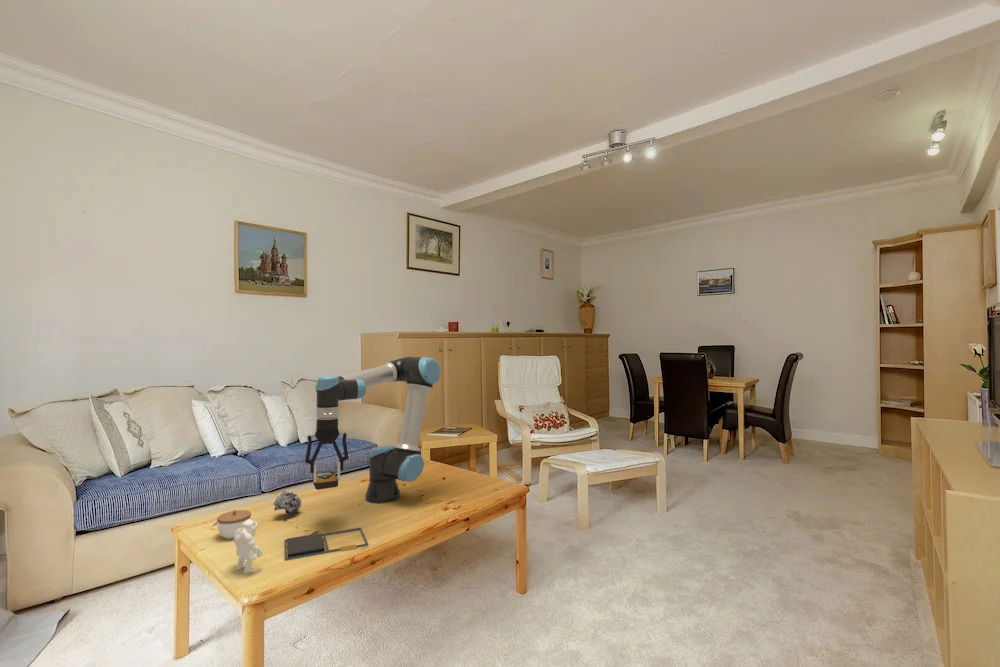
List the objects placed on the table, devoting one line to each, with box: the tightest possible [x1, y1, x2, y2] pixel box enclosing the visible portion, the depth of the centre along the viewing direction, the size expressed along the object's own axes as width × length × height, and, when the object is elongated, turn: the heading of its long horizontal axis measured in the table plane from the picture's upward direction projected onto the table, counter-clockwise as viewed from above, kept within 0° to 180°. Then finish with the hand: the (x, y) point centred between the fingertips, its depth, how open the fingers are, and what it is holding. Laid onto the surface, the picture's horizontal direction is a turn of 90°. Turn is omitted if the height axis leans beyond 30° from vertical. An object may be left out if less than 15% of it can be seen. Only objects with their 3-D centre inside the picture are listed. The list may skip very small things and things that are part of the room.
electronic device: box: [311, 470, 339, 491], centre depth 181 cm, size 8×16×3 cm, turn 26°
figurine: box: [233, 519, 263, 574], centre depth 147 cm, size 11×7×15 cm, turn 56°
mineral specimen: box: [273, 490, 302, 516], centre depth 192 cm, size 12×9×10 cm
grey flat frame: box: [284, 527, 369, 562], centre depth 165 cm, size 17×26×2 cm, turn 115°
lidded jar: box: [216, 509, 252, 540], centre depth 173 cm, size 11×11×9 cm
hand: (326, 480), depth 175 cm, fingers closed on electronic device, 8 cm apart
